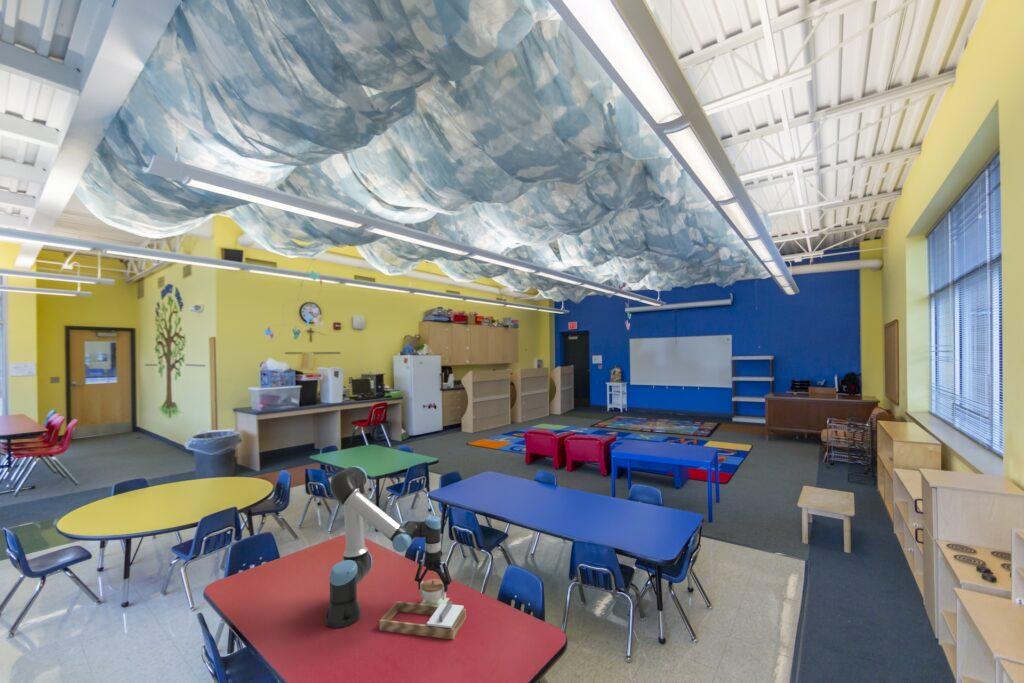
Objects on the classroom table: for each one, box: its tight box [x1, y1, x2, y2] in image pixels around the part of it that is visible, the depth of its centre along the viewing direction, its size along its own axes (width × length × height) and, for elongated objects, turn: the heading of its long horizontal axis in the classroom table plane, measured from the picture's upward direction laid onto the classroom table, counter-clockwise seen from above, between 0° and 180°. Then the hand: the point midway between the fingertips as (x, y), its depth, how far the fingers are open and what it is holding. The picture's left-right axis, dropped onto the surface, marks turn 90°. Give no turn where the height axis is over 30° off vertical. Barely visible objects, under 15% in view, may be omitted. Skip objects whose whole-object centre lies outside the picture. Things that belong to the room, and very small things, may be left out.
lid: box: [426, 600, 465, 628], centre depth 190 cm, size 11×16×3 cm
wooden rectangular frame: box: [379, 600, 467, 640], centre depth 192 cm, size 34×16×4 cm, turn 78°
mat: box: [419, 597, 450, 606], centre depth 208 cm, size 12×12×1 cm
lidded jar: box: [422, 578, 443, 604], centre depth 208 cm, size 11×11×9 cm
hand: (433, 597), depth 208 cm, fingers closed on lidded jar, 11 cm apart
